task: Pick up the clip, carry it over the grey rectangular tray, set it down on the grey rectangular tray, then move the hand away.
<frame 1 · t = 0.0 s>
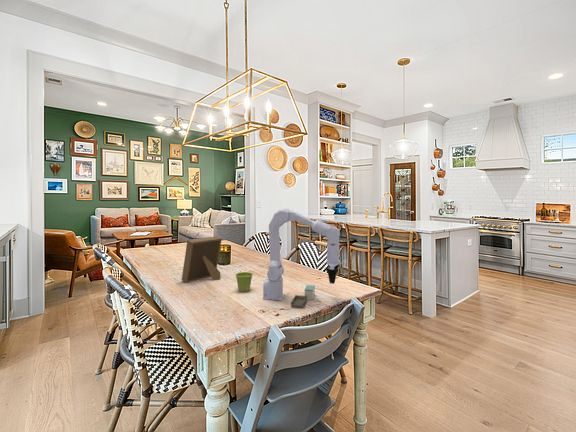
hand: (332, 281, 142), 10 cm above the table, tool pointing down, fingers open, 7 cm apart
plant pot: (244, 290, 159), on the table
clip: (309, 297, 149), on the table
grey rectangular tray: (299, 303, 140), on the table
photo frame: (204, 280, 179), on the table
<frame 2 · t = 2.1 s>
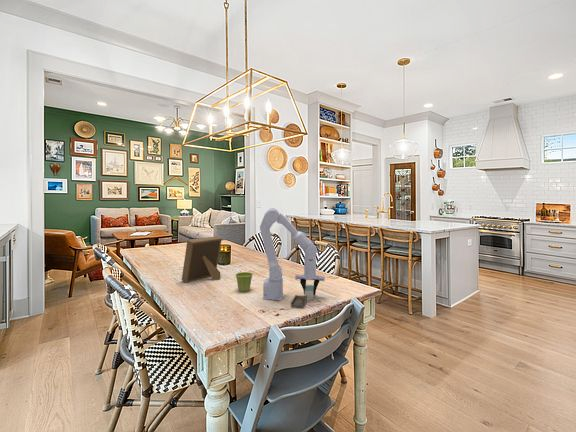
hand: (309, 294, 149), 1 cm above the table, tool pointing down, fingers closed on clip, 4 cm apart
clip: (309, 297, 149), on the table, touching gripper
everything else where it was.
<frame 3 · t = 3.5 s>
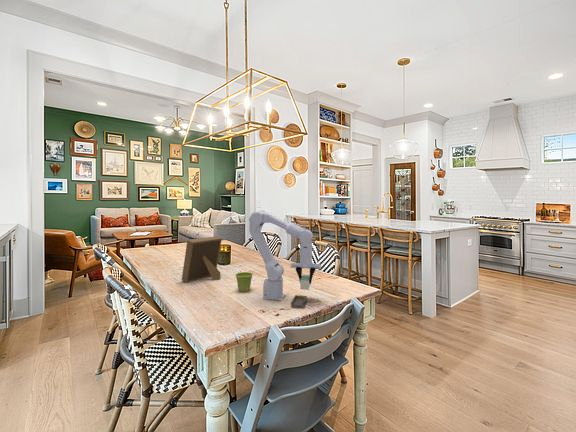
hand: (305, 282, 145), 8 cm above the table, tool pointing down, fingers closed on clip, 4 cm apart
clip: (305, 287, 145), point 6 cm above the table, touching gripper
everything else where it was.
when the fingers open (4 cm above the table, at t = 5.2 s): clip stays where it is, resting on grey rectangular tray.
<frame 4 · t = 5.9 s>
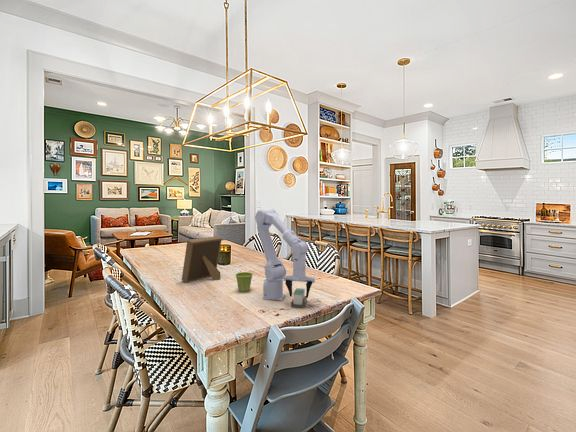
hand: (299, 296, 139), 4 cm above the table, tool pointing down, fingers open, 7 cm apart
clip: (299, 301, 139), point 1 cm above the table, touching grey rectangular tray
everything else where it was.
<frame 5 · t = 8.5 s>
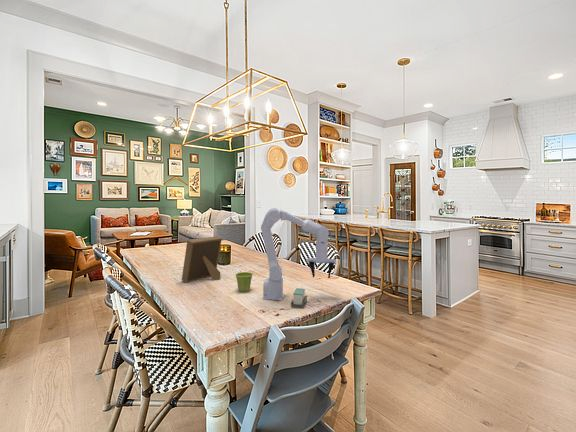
hand: (321, 277, 149), 10 cm above the table, tool pointing down, fingers open, 7 cm apart
nothing on the table moved.
at the end: clip 0.7 cm from the target spot on the grey rectangular tray, point 1.2 cm above the grey rectangular tray's base; clip tilted 0°; the gripper is holding nothing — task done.
